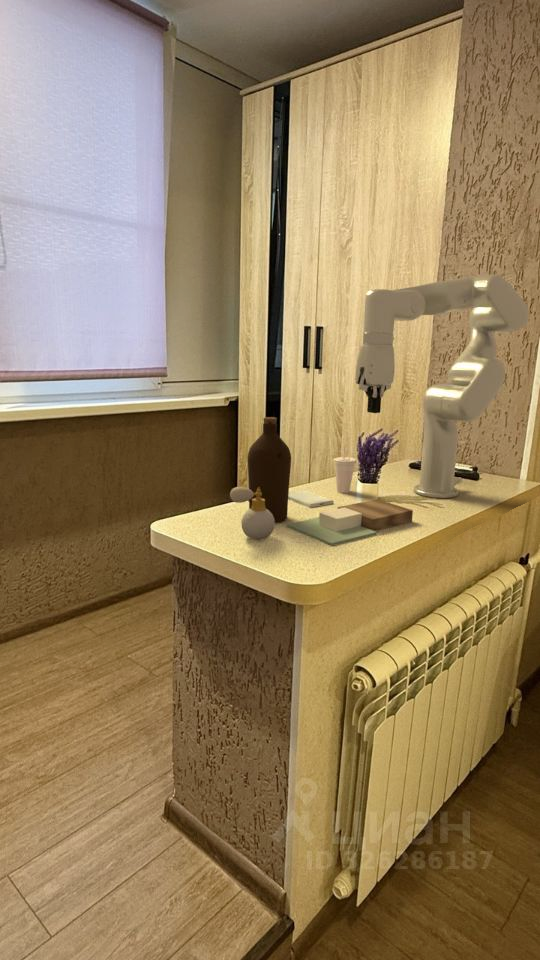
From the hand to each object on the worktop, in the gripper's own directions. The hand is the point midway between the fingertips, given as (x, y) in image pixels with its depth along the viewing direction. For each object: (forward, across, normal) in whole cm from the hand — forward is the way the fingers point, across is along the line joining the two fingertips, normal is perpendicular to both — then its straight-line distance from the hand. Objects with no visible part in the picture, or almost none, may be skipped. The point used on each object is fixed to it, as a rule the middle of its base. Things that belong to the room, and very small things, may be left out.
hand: (373, 412), depth 157 cm
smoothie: (+25, -4, -14) cm, 29 cm away
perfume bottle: (+25, +42, +6) cm, 49 cm away
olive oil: (+25, +30, -5) cm, 39 cm away
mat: (+25, +24, +11) cm, 36 cm away
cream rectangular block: (+24, +20, +10) cm, 33 cm away
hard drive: (+26, +11, -12) cm, 31 cm away
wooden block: (+25, +9, +11) cm, 29 cm away
